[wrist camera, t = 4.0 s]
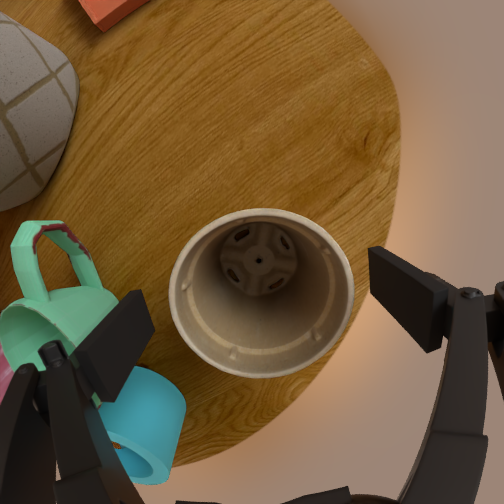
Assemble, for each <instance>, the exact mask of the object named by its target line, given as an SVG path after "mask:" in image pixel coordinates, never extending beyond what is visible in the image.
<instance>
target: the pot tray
mask: <svg viewBox="0 0 504 504" xmlns="http://www.w3.org/2000/svg"><path fill="white" fill-rule="evenodd" d="M78 1H79V2H80V4H81V5H82V7H83V8H84V10H85V11H86V13H87V14H88V16H89V17H90V18H91V20H92V21H93V23H94V24H95V25H96V26H97V27H98V28H99V29H100V30H102V31H103V32H106V31H107V30H108V29H109V28H111V27H112V26H113V25H115V24H116V23H117V22H119V21H120V20H121V19H123V18H124V17H125V16H127V15H128V14H130V13H131V12H133V11H134V10H135V9H137V8H138V7H140V6H141V5H143V4H145V3H146V2H148V1H149V0H78Z"/></svg>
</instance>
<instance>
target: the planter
mask: <svg viewBox="0 0 504 504" xmlns="http://www.w3.org/2000/svg"><path fill="white" fill-rule="evenodd" d="M78 96H79V78H78V76H77V74H76V72H75V70H74V69H73V67H72V65H71V63H70V62H69V60H68V58H67V57H66V56H65V55H64V54H63V52H61V51H60V50H59V49H58V48H56V47H55V46H53V45H52V44H50V43H49V42H47V41H46V40H44V39H43V38H41V37H39V36H38V35H36V34H35V33H33V32H32V31H30V30H29V29H27V28H26V27H24V26H22V25H21V24H19V23H18V22H16V21H15V20H13V19H11V18H10V17H8V16H7V15H5V14H4V13H2V12H0V212H1V211H4V210H8V209H11V208H14V207H16V206H19V205H21V204H23V203H26V202H28V201H30V200H32V199H33V198H35V197H36V196H38V195H39V194H40V193H41V192H42V190H43V189H44V188H45V186H46V184H47V183H48V181H49V179H50V178H51V176H52V174H53V172H54V170H55V168H56V166H57V164H58V162H59V160H60V158H61V155H62V153H63V151H64V148H65V145H66V143H67V140H68V137H69V133H70V130H71V126H72V123H73V119H74V115H75V111H76V106H77V102H78Z"/></svg>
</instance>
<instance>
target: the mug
mask: <svg viewBox="0 0 504 504" xmlns="http://www.w3.org/2000/svg"><path fill="white" fill-rule="evenodd" d="M42 234H45V235H46V236H47V237H48V238H50V239H51V240H52V241H53V242H54V243H56V244H57V245H58V246H59V247H60V248H62V249H63V250H64V251H65V252H66V253H67V255H68V257H69V259H70V262H71V264H72V266H73V268H74V271H75V273H76V275H77V277H78V279H79V281H80V283H81V286H79V287H70V288H62V289H55V290H52V291H49V292H47V289H46V287H45V284H44V281H43V278H42V276H41V273H40V270H39V266H38V258H37V250H36V243H37V241H38V239H39V238H40V236H41V235H42ZM10 248H11V254H12V261H13V266H14V271H15V274H16V276H17V279H18V282H19V285H20V287H21V290H22V293H23V295H24V298H22V299H18V300H16V301H14V302H13V303H11V304H10V305H8V306H7V307H6V308H5V309H4V310H3V311H2V312H1V316H0V342H1V345H2V349H3V352H4V355H5V357H6V359H7V361H8V363H9V365H10V367H11V368H12V370H13V372H14V373H15V371H16V370H17V369H18V368H19V366H20V365H22V364H26V363H34V364H35V366H36V368H37V369H38V371H44V370H46V367H45V366H44V364H43V362H42V360H41V358H40V356H39V354H38V352H37V351H38V349H39V348H40V347H41V346H42V345H43V344H45V343H47V342H49V341H52V340H61V342H62V344H63V346H64V348H65V350H66V352H67V354H68V356H69V355H70V354H71V353H72V352H73V351H74V350H75V349H76V347H77V346H78V345H79V344H80V343H81V342H82V341H83V340H84V339H85V338H86V337H87V335H88V334H89V333H90V332H91V331H92V330H93V329H94V328H95V327H96V326H97V325H98V324H99V323H100V322H101V321H102V319H103V318H104V317H105V316H106V315H107V314H108V313H109V312H110V311H111V310H112V309H113V308H114V307H115V306H116V305H117V304H118V303H119V301H118V300H117V298H116V297H115V296H114V295H113V294H112V293H111V292H110V291H108V290H107V289H105V288H103V286H102V283H101V281H100V278H99V276H98V273H97V271H96V269H95V266H94V263H93V261H92V258H91V256H90V253H89V251H88V250H87V249H86V247H85V246H84V245H83V244H82V243H81V242H80V241H79V239H78V238H77V237H76V236H75V235H74V234H73V233H72V231H71V230H70V229H69V228H68V227H67V225H66V224H65V223H64V222H62V221H26V222H23V223H22V224H21V226H20V228H19V230H18V232H17V233H16V235H15V237H14V239H13V241H12V243H11V245H10ZM92 399H93V400H94V402H95V404H96V406H97V409H98V410H99V408H100V407H101V405H102V403H103V402H101V401H100V399H99V398H98V396H97V394H96V393H95V392H94V394H93V396H92Z"/></svg>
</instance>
